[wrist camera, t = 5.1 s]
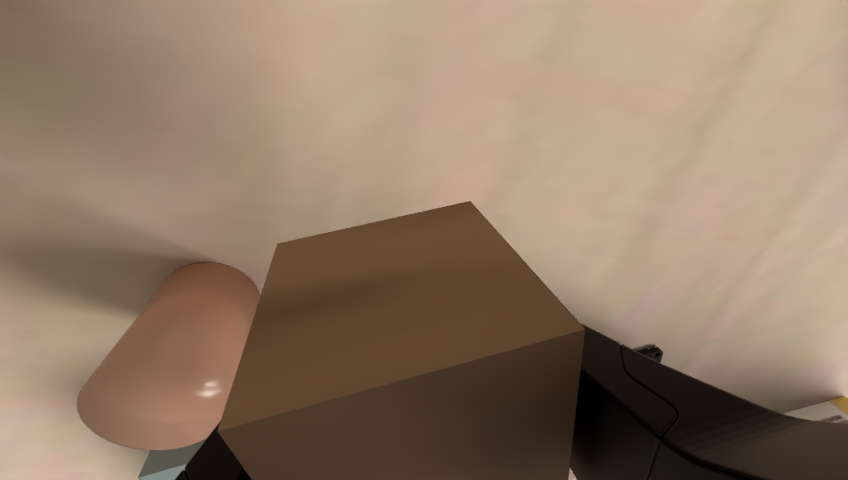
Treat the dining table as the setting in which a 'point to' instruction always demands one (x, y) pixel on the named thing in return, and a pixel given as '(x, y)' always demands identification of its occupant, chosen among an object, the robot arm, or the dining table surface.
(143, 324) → the terracotta cylinder
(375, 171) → the dining table surface
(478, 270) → the walnut cube
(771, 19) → the dining table surface
